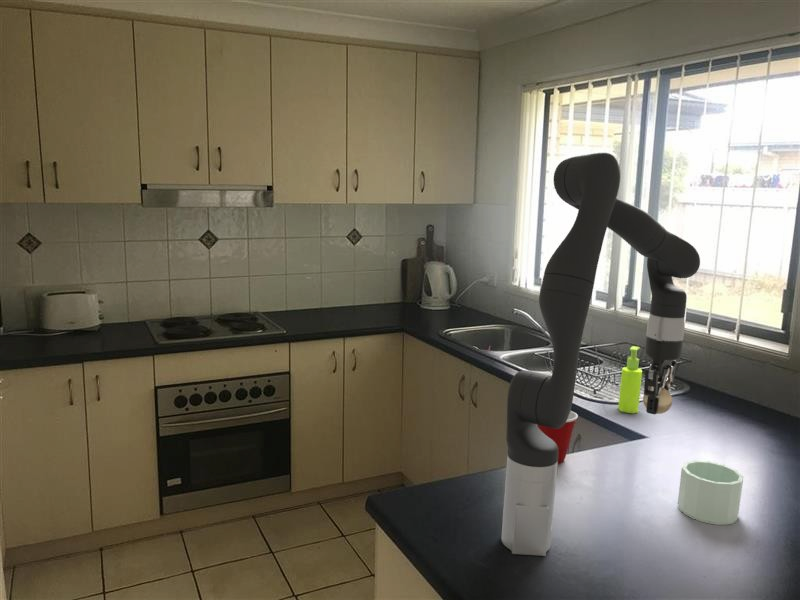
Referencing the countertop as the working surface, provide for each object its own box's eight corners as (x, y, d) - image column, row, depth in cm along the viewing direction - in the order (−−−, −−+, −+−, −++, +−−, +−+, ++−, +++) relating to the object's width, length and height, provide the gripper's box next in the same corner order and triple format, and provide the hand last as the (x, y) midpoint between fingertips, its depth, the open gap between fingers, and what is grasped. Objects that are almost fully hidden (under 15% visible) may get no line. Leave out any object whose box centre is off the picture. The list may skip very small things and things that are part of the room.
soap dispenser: (640, 408, 210) (647, 346, 207) (635, 414, 205) (642, 351, 201) (621, 404, 214) (627, 343, 210) (616, 410, 208) (622, 347, 204)
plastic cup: (542, 446, 176) (546, 403, 174) (581, 458, 169) (585, 413, 167) (522, 458, 167) (525, 412, 165) (561, 471, 161) (566, 423, 159)
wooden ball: (674, 418, 145) (677, 391, 144) (646, 416, 145) (649, 390, 144) (665, 409, 151) (668, 383, 150) (638, 407, 151) (640, 382, 150)
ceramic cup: (747, 526, 137) (753, 485, 136) (689, 523, 138) (694, 482, 136) (723, 500, 149) (728, 462, 147) (670, 497, 149) (674, 459, 148)
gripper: (658, 328, 153) (650, 398, 156) (635, 337, 142) (628, 413, 145) (692, 333, 148) (683, 406, 151) (672, 344, 137) (663, 422, 140)
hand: (656, 409), depth 148 cm, fingers closed on wooden ball, 6 cm apart
